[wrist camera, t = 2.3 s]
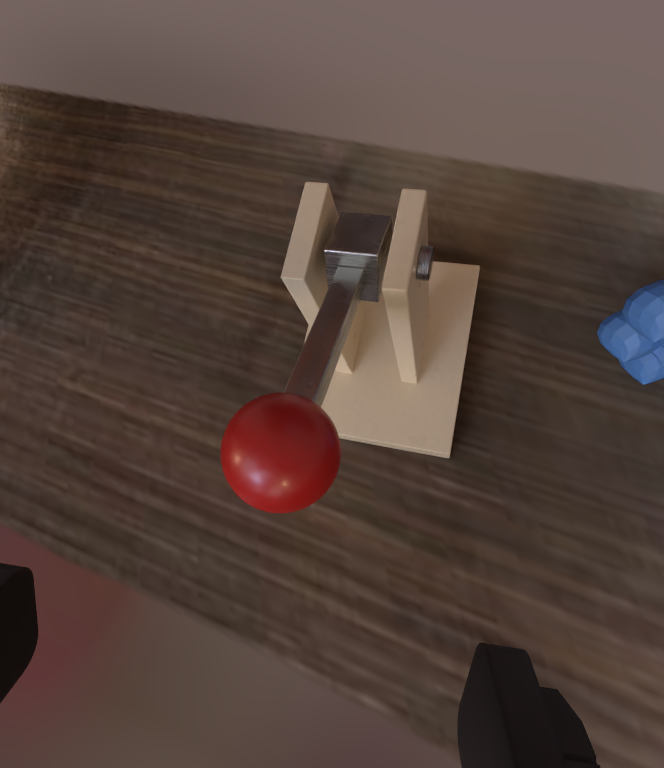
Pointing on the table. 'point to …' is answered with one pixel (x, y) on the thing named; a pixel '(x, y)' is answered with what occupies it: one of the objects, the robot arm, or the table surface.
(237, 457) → the power lever
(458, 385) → the switch bracket
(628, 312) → the grapes
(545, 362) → the table surface
